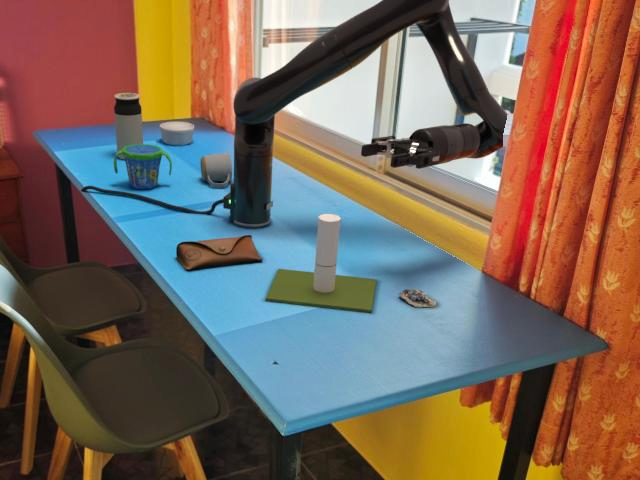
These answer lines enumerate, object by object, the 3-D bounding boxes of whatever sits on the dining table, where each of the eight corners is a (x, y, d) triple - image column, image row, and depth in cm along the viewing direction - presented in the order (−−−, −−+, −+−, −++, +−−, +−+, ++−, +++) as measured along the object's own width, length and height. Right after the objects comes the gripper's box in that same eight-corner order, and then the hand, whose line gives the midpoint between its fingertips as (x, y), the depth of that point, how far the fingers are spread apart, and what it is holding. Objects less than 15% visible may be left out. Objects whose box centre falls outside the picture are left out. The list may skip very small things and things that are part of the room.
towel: (265, 300, 154) (265, 298, 153) (278, 271, 166) (278, 268, 166) (371, 312, 150) (371, 310, 150) (376, 281, 163) (376, 279, 163)
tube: (333, 293, 156) (339, 222, 148) (312, 291, 157) (317, 220, 149) (335, 285, 159) (341, 215, 152) (314, 282, 160) (320, 213, 152)
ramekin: (193, 147, 247) (192, 130, 244) (158, 146, 247) (157, 129, 244) (195, 138, 256) (195, 121, 254) (162, 137, 256) (161, 120, 254)
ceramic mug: (199, 177, 220) (199, 150, 216) (227, 176, 222) (228, 149, 218) (206, 189, 212) (205, 161, 207) (235, 188, 213) (235, 160, 209)
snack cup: (175, 181, 217) (174, 144, 211) (169, 193, 208) (167, 155, 202) (120, 178, 217) (117, 142, 212) (111, 190, 208) (109, 152, 203)
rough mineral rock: (409, 289, 160) (410, 280, 159) (444, 300, 156) (445, 292, 155) (392, 299, 156) (393, 291, 155) (427, 311, 152) (429, 303, 150)
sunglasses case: (187, 270, 164) (181, 238, 163) (179, 274, 170) (174, 244, 170) (265, 260, 170) (260, 229, 169) (254, 264, 176) (250, 235, 176)
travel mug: (149, 156, 237) (146, 95, 227) (132, 162, 231) (128, 99, 221) (129, 151, 240) (125, 91, 231) (112, 157, 235) (107, 95, 225)
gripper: (413, 119, 161) (354, 128, 153) (465, 135, 151) (405, 145, 143) (408, 155, 165) (351, 166, 157) (458, 173, 155) (400, 185, 147)
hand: (377, 156), depth 150 cm, fingers open, 8 cm apart
